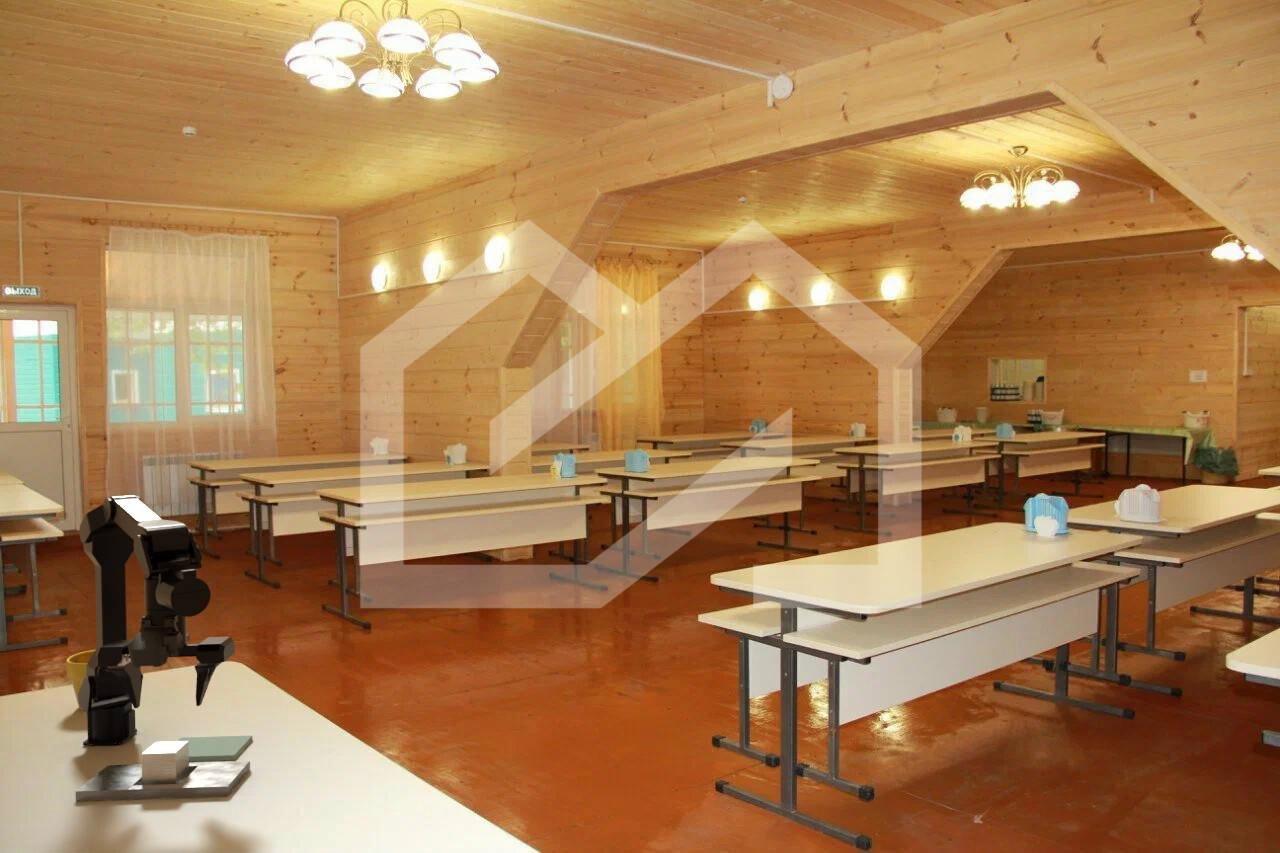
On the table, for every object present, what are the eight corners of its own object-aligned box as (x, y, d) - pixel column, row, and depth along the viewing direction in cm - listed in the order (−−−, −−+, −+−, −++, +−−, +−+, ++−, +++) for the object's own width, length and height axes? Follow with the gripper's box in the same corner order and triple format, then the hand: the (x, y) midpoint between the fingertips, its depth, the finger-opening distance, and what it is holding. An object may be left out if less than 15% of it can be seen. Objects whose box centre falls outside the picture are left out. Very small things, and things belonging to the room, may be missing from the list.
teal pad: (159, 762, 158) (159, 757, 158) (181, 742, 167) (181, 737, 167) (234, 759, 159) (234, 755, 159) (252, 740, 168) (252, 735, 168)
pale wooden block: (142, 792, 146) (141, 753, 146) (156, 779, 151) (155, 741, 151) (176, 791, 146) (175, 752, 146) (189, 778, 151) (188, 740, 151)
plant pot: (110, 714, 181) (108, 663, 181) (55, 714, 182) (54, 663, 181) (139, 696, 192) (138, 648, 191) (87, 696, 192) (86, 648, 191)
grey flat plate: (75, 801, 143) (75, 791, 143) (108, 774, 153) (107, 765, 153) (227, 796, 145) (227, 786, 145) (250, 769, 155) (249, 760, 154)
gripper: (76, 620, 139) (79, 726, 140) (210, 616, 141) (212, 722, 142) (111, 603, 150) (113, 702, 151) (234, 600, 152) (236, 698, 153)
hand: (168, 706), depth 149 cm, fingers open, 9 cm apart
